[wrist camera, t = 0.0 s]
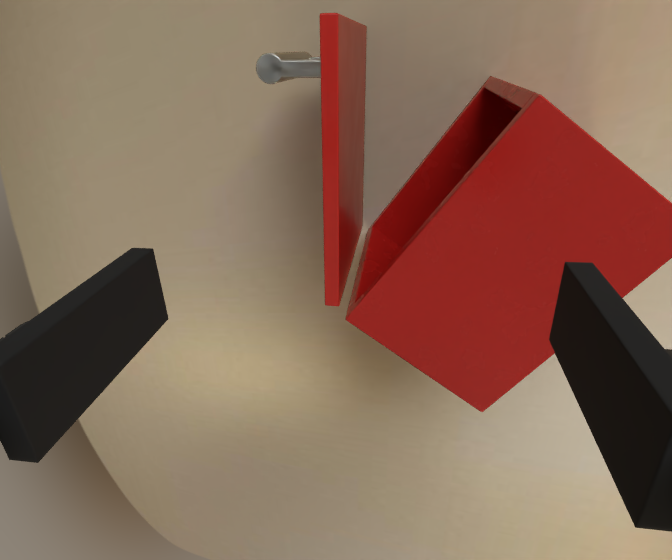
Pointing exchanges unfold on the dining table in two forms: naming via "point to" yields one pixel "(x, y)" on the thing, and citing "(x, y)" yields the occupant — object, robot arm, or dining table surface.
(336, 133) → the door
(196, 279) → the dining table surface
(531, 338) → the cabinet
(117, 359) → the robot arm
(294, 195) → the dining table surface
